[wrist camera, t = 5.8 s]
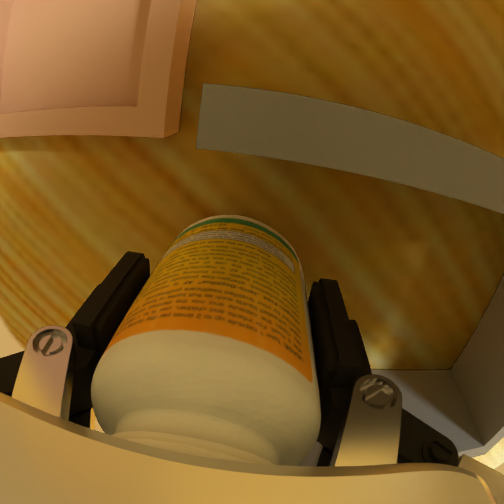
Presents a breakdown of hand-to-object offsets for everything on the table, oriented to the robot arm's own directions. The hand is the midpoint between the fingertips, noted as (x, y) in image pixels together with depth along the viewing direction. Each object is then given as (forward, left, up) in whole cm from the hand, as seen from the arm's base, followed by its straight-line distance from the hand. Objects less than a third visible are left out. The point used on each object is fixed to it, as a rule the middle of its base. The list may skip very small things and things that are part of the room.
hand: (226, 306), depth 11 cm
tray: (-11, -8, -3) cm, 14 cm away
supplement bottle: (0, 0, -2) cm, 2 cm away
